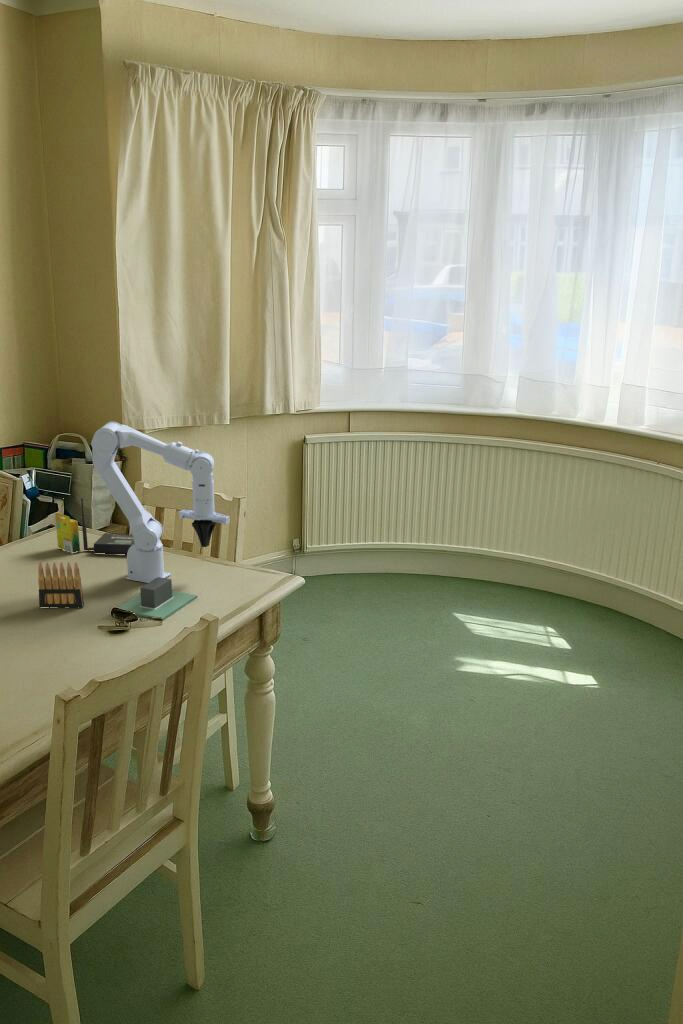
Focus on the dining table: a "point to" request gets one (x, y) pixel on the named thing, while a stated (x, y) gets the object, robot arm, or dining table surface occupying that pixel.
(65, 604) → the ammunition clip
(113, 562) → the dining table surface
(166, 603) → the header board
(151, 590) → the block
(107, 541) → the wifi router
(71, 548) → the crayon box
